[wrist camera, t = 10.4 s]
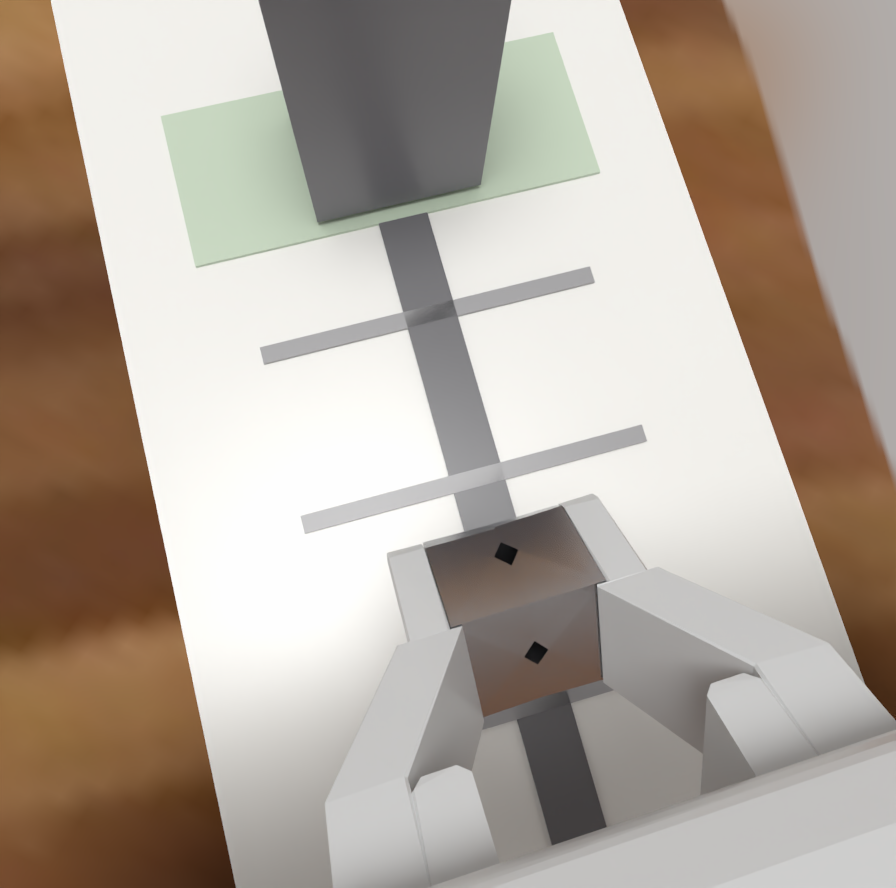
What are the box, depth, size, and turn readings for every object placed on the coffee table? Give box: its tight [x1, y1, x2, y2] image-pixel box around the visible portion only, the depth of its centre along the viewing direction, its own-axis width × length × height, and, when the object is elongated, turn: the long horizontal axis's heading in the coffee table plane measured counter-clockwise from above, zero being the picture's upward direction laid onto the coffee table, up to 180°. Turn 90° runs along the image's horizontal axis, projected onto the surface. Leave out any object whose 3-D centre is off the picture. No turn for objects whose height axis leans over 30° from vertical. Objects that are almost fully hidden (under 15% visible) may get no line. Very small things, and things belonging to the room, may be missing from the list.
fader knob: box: [258, 0, 511, 223], centre depth 14 cm, size 3×4×8 cm
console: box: [51, 0, 865, 888], centre depth 18 cm, size 28×14×2 cm, turn 16°
